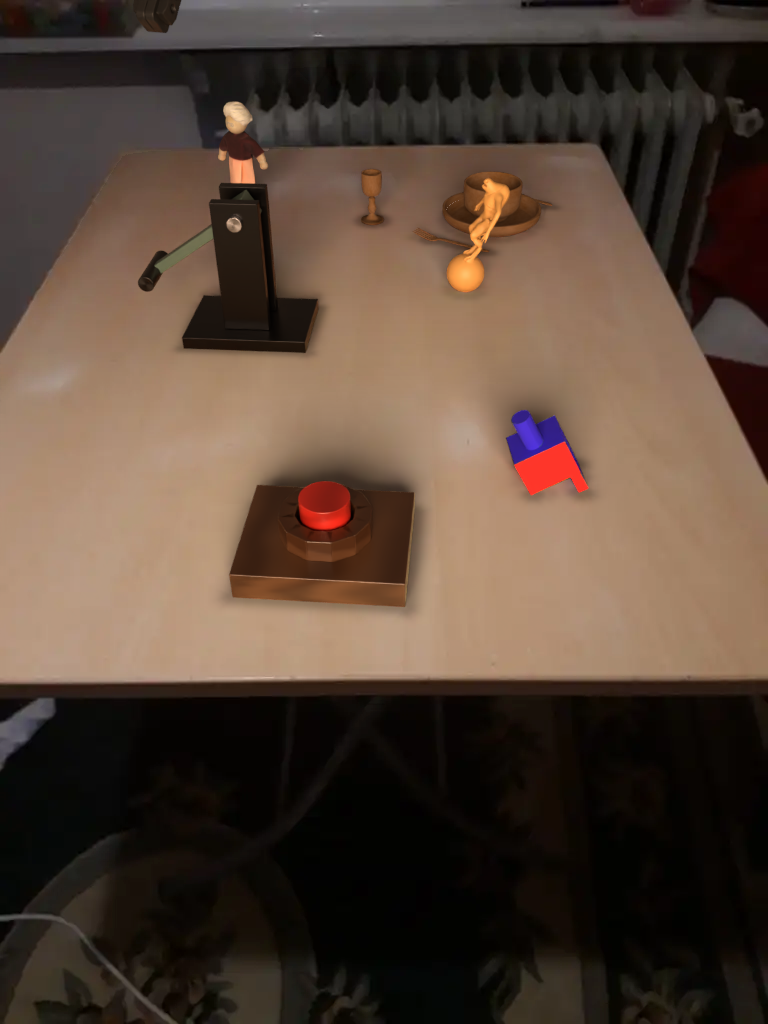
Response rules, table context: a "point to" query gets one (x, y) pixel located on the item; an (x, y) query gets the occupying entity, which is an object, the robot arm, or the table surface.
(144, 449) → the table surface
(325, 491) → the button
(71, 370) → the table surface
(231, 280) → the bracket
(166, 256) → the lever
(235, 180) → the grandmother figurine
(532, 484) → the toy building block
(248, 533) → the button block
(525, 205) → the place setting
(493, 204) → the figurine
